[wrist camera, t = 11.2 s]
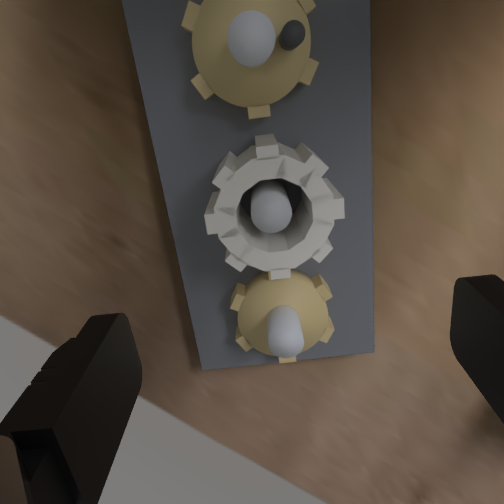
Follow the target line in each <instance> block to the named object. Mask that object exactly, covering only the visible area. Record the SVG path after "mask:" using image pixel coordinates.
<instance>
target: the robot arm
mask: <svg viewBox="0 0 504 504" xmlns="http://www.w3.org/2000/svg"><path fill="white" fill-rule="evenodd" d="M450 341H451V346H452V349H453V352H454V355H455V357H456V359H457V360H458V362H459V363H460V364H461V366H462V367H463V368H464V370H465V371H466V373H467V374H468V375H469V377H470V378H471V379H472V381H473V382H474V384H475V385H476V386H477V388H478V389H479V390H480V392H481V393H482V395H483V396H484V397H485V399H486V400H487V401H488V403H489V404H490V406H491V407H492V408H493V410H494V411H495V412H496V414H497V415H498V417H499V418H500V419H501V421H502V422H503V423H504V281H503V280H501V279H500V278H499V277H498V276H496V275H492V274H491V275H482V276H472V277H463V278H458V279H457V281H456V282H455V285H454V293H453V305H452V316H451V327H450ZM141 383H142V367H141V362H140V358H139V355H138V351H137V348H136V345H135V341H134V338H133V334H132V331H131V327H130V324H129V321H128V318H127V316H126V315H125V314H124V313H114V314H105V315H95V316H91V317H90V318H89V319H88V321H87V322H86V324H85V325H84V327H83V328H82V329H81V331H80V332H79V334H78V335H77V337H76V338H71V339H69V340H68V341H67V342H66V343H64V344H63V345H62V346H60V347H59V348H58V349H57V350H55V351H54V352H53V353H52V354H51V356H50V357H49V358H48V360H47V361H46V362H45V364H44V365H43V366H42V368H41V371H40V372H38V373H37V374H36V376H35V377H34V379H33V380H32V381H31V385H29V386H28V387H27V388H26V389H25V391H24V392H23V393H22V395H21V396H20V397H19V399H18V400H17V402H16V403H15V404H14V406H13V407H12V408H11V410H10V411H9V412H8V414H7V415H6V416H5V418H4V419H3V421H2V422H1V423H0V504H98V501H99V499H100V496H101V493H102V490H103V487H104V485H105V482H106V480H107V477H108V474H109V472H110V468H111V466H112V464H113V461H114V458H115V455H116V452H117V450H118V447H119V445H120V442H121V439H122V437H123V434H124V431H125V428H126V426H127V423H128V420H129V418H130V415H131V412H132V409H133V407H134V404H135V402H136V399H137V396H138V393H139V391H140V388H141Z"/></svg>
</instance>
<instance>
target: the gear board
mask: <svg viewBox="0 0 504 504" xmlns="http://www.w3.org/2000/svg"><path fill="white" fill-rule="evenodd" d="M121 1H122V5H123V10H124V14H125V19H126V24H127V28H128V33H129V37H130V42H131V46H132V51H133V56H134V60H135V65H136V69H137V74H138V78H139V83H140V88H141V92H142V97H143V101H144V106H145V110H146V115H147V120H148V124H149V129H150V133H151V138H152V142H153V147H154V152H155V156H156V161H157V165H158V170H159V174H160V179H161V184H162V188H163V193H164V197H165V202H166V206H167V211H168V216H169V220H170V225H171V229H172V234H173V238H174V243H175V248H176V252H177V257H178V261H179V266H180V270H181V275H182V280H183V284H184V289H185V293H186V298H187V302H188V307H189V312H190V316H191V321H192V325H193V330H194V334H195V339H196V344H197V348H198V353H199V357H200V362H201V366H202V371H203V370H212V369H221V368H231V367H240V366H250V365H259V364H268V363H278V362H279V363H288V362H296V361H297V360H306V359H316V358H325V357H334V356H344V355H353V354H363V353H372V352H374V272H373V189H372V107H371V25H370V0H121ZM266 134H273V135H274V137H275V139H276V141H277V142H279V143H281V144H283V145H286V146H288V147H290V148H293V149H295V148H296V147H297V146H298V144H299V143H300V142H302V143H303V144H304V145H306V146H307V147H308V148H309V149H310V150H312V151H313V152H314V153H315V154H316V155H317V156H318V157H319V158H320V159H321V160H322V161H323V162H324V163H325V164H326V165H327V166H328V167H329V169H328V170H327V171H326V172H325V174H324V175H323V176H322V177H321V178H327V179H328V180H329V181H330V182H331V183H332V184H333V186H334V187H335V188H336V189H337V190H338V192H339V193H340V194H341V195H342V196H343V197H344V212H345V218H344V219H336V220H334V226H333V228H332V230H331V232H330V234H329V236H328V239H329V241H330V243H331V245H332V247H333V249H332V250H331V252H330V253H329V254H328V255H327V256H326V257H325V258H324V259H323V260H322V261H321V262H320V263H319V262H317V261H316V260H315V259H313V258H312V257H311V258H310V259H308V260H307V261H305V262H304V263H302V264H301V265H299V266H298V267H296V268H292V269H290V272H291V278H283V279H274V280H271V272H270V271H266V272H265V271H263V270H260V269H257V268H255V267H252V266H250V265H247V266H246V267H245V268H244V269H243V270H242V271H241V272H240V271H238V270H237V269H235V268H234V267H232V266H231V265H230V264H228V263H227V262H225V256H226V250H227V248H226V247H225V245H224V244H223V243H222V242H221V241H220V239H219V238H218V234H210V235H208V234H207V229H206V223H205V218H204V214H205V211H206V208H207V206H208V203H209V200H210V198H211V195H212V192H216V191H219V190H220V188H218V187H217V186H216V185H214V184H213V183H212V181H213V178H214V176H215V174H216V171H217V169H218V166H219V164H220V163H221V162H222V160H223V159H224V158H225V156H226V155H227V154H228V152H229V151H231V152H232V153H233V154H235V155H236V156H237V157H238V156H239V155H240V154H241V153H243V152H244V151H245V150H247V149H248V148H249V147H250V146H254V145H255V136H258V135H266ZM301 199H302V192H301V187H300V186H299V185H296V184H294V183H292V182H289V181H287V180H285V179H282V178H277V179H268V180H260V181H259V182H257V183H256V184H255V185H253V186H252V187H251V188H249V189H248V190H247V191H245V192H244V193H243V195H242V197H241V200H240V204H241V206H242V208H243V209H244V210H245V211H246V213H247V214H248V215H249V216H250V218H251V219H252V221H253V223H254V225H255V226H256V227H257V228H258V229H259V230H261V231H263V232H266V233H276V232H279V231H281V230H283V229H284V228H286V227H287V225H288V224H289V223H290V221H291V217H292V214H293V213H295V211H296V209H297V207H298V205H299V203H300V201H301Z"/></svg>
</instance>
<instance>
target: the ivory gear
mask: <svg viewBox="0 0 504 504" xmlns="http://www.w3.org/2000/svg"><path fill="white" fill-rule="evenodd" d="M328 169H329V167H328V166H327V165H326V164H325V163H324V162H323V161H322V160H321V159H320V158H319V157H318V156H317V155H316V154H315V153H314V152H313V151H312V150H310V149H309V148H308V147H307V146H306V145H304V144H303V143H302V142H300V143H299V144H298V146H297V147H296V148H295V149H293V148H290V147H288V146H286V145H283V144H281V143H279V142H277V141H276V139H275V137H274V135H273V134H266V135H258V136H255V145H254V146H250V147H249V148H248V149H247V150H245V151H244V152H243V153H241V154H240V155H239V156H238V157H237V156H236V155H235V154H233V153H232V152H231V151H229V152H228V154H227V155H226V156H225V158H224V159H223V160H222V162H221V163H220V164H219V166H218V169H217V171H216V174H215V176H214V178H213V181H212V183H213V184H214V185H216V186H217V187H218V188H220V190H219V191H216V192H212V195H211V198H210V200H209V203H208V206H207V208H206V211H205V214H204V218H205V223H206V229H207V234H208V235H210V234H218V238H219V239H220V241H221V242H222V243H223V244H224V245H225V247H226V248H227V250H226V256H225V262H227V263H228V264H230V265H231V266H232V267H234V268H235V269H237V270H238V271H240V272H241V271H242V270H243V269H244V268H245V267H246V266H247V265H250V266H252V267H255V268H257V269H260V270H263V271H265V272H266V271H270V272H271V280H274V279H283V278H291V272H290V269H292V268H296V267H298V266H299V265H301V264H302V263H304V262H305V261H307V260H308V259H310V258H311V257H312V258H313V259H315V260H316V261H317V262H319V263H320V262H321V261H322V260H323V259H324V258H325V257H326V256H327V255H328V254H329V253H330V252H331V250H332V249H333V247H332V245H331V243H330V241H329V239H328V236H329V234H330V232H331V230H332V228H333V226H334V220H336V219H344V218H345V212H344V197H343V196H342V195H341V194H340V193H339V192H338V190H337V189H336V188H335V187H334V186H333V184H332V183H331V182H330V181H329V180H328V179H327V178H321V177H322V176H323V175H324V174H325V172H326V171H327V170H328ZM277 178H282V179H285V180H287V181H289V182H292V183H294V184H296V185H299V186H300V187H301V192H302V199H301V201H300V203H299V205H298V207H297V209H296V211H295V213H293V214H292V217H291V221H290V223H289V224H288V225H287V227H286V228H284V229H283V230H281V231H279V232H276V233H266V232H263V231H261V230H259V229H258V228H257V227H256V226H255V225H254V223H253V221H252V219H251V218H250V216H249V215H248V214H247V213H246V211H245V210H244V209H243V208H242V206H241V204H240V200H241V197H242V195H243V193H244V192H245V191H247V190H248V189H249V188H251V187H252V186H253V185H255V184H256V183H257V182H259V181H260V180H268V179H277Z"/></svg>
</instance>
